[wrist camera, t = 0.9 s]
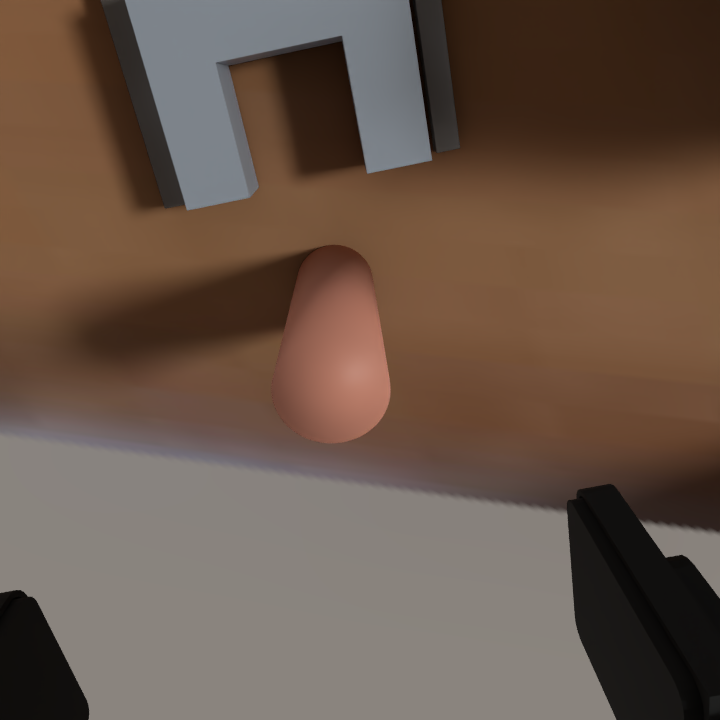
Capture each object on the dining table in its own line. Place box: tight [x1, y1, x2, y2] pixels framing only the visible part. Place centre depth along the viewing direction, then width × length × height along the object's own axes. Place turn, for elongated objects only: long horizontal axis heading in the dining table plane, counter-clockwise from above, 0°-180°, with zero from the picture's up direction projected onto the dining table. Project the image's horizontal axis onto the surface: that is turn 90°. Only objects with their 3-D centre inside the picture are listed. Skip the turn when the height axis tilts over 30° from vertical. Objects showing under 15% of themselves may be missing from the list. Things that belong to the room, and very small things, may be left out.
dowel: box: [271, 245, 391, 443], centre depth 25 cm, size 4×4×12 cm
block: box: [125, 0, 432, 210], centre depth 25 cm, size 10×8×3 cm
